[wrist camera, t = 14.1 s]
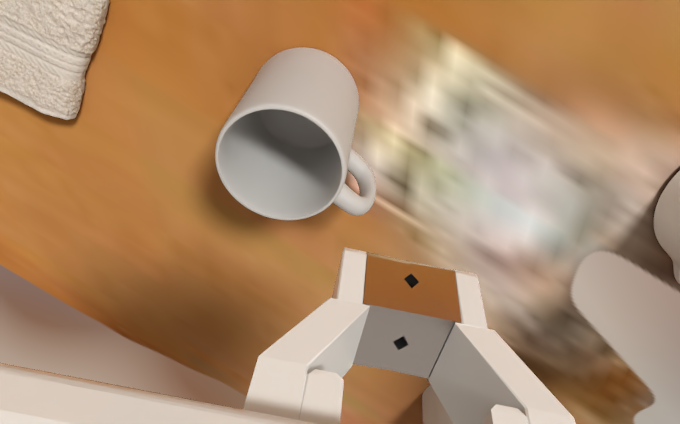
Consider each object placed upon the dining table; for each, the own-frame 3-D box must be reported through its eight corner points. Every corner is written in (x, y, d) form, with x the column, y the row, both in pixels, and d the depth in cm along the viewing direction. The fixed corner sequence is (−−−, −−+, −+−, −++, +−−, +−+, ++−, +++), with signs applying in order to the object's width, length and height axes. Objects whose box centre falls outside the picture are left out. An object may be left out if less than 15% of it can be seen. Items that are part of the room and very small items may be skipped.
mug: (233, 100, 41) (187, 167, 32) (298, 21, 37) (265, 73, 28) (342, 188, 45) (328, 270, 36) (412, 126, 41) (415, 201, 32)
